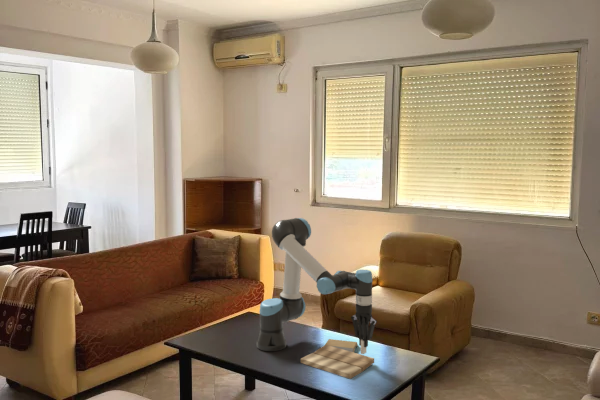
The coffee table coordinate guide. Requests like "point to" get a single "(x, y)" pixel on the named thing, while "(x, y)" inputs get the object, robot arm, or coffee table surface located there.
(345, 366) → the laid board
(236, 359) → the coffee table surface
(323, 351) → the board
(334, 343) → the crown molding
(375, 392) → the coffee table surface
